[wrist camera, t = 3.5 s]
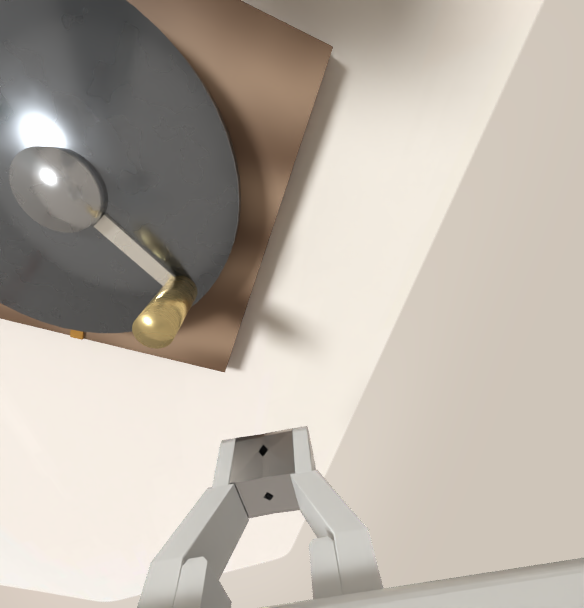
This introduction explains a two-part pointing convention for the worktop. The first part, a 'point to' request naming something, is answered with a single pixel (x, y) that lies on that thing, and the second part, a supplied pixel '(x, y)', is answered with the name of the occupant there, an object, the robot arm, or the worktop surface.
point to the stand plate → (247, 145)
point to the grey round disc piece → (108, 171)
